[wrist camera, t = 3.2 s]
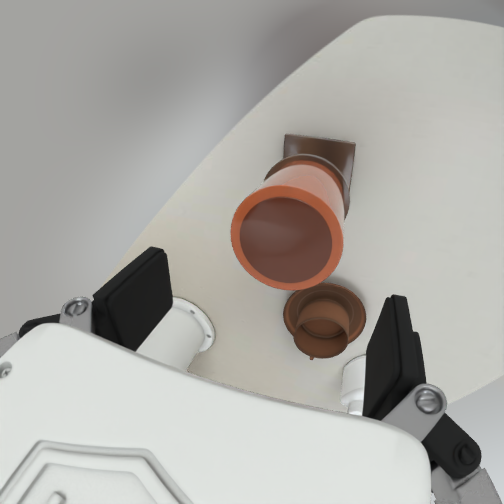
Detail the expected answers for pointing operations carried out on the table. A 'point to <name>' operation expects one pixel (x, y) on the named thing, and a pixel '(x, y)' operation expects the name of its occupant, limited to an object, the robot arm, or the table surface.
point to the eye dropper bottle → (354, 385)
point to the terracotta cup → (291, 227)
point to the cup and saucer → (324, 319)
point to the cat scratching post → (321, 157)
